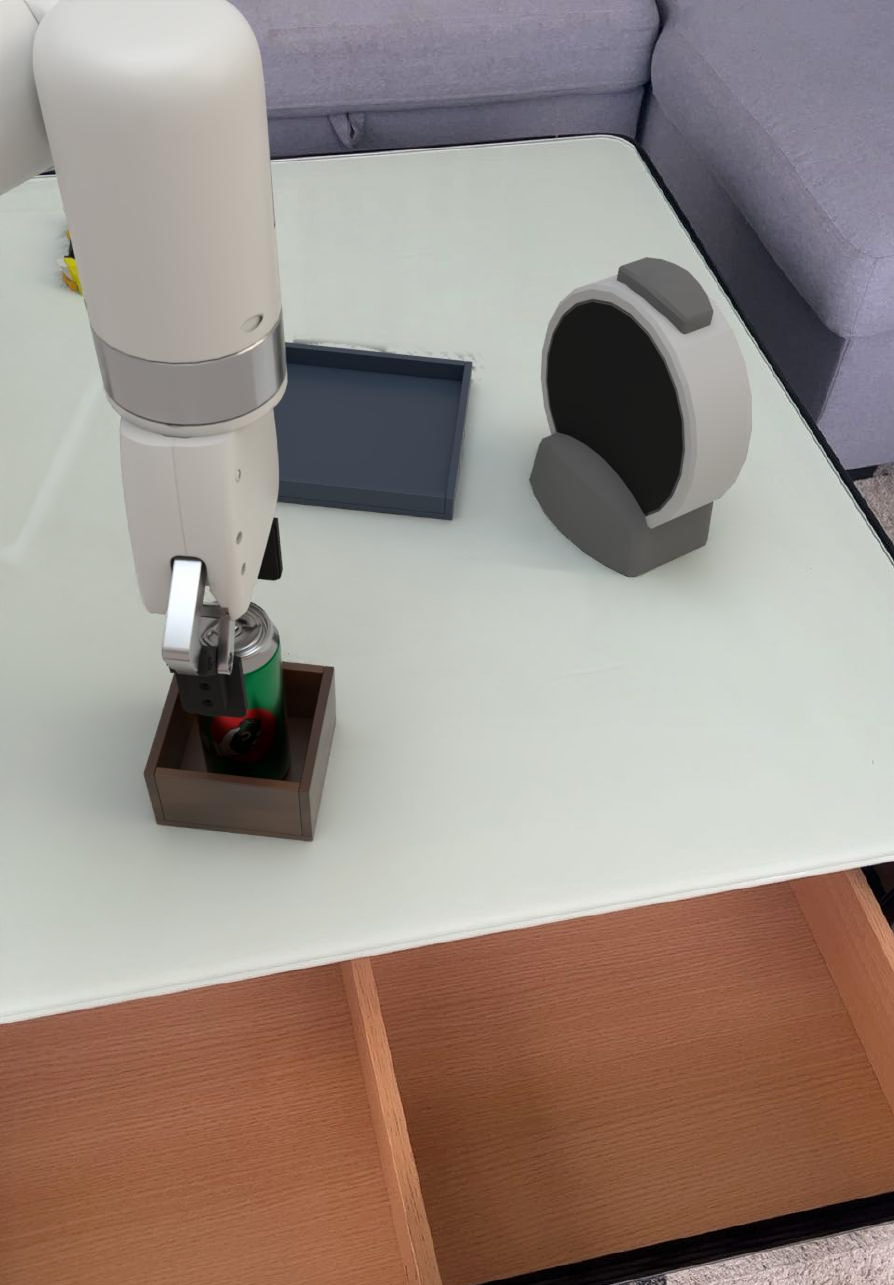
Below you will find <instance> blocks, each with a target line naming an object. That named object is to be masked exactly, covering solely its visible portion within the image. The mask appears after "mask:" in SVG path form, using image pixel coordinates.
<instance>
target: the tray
mask: <svg viewBox="0 0 894 1285" xmlns="http://www.w3.org/2000/svg"><path fill="white" fill-rule="evenodd" d="M285 350H286V365H287V386H286V390H285V393H284V395H283V397H282V399H281V400H280V401H279V403H278V404H277V405H276V406H275V407H274V408H273V410H274V418H275V427H276V436H277V447H278V461H279V490H278V498H277V502H281V503H290V504H291V503H292V504H299V505H300V504H301V505H308V506H310V505H311V506H319V507H326V508H327V507H328V508H336V509H337V508H338V509H346V510H355V511H356V510H357V511H367V512H373V513H374V512H376V513H383V514H384V513H385V514H393V515H402V516H412V517H420V518H431V519H440V520H448V521H449V520H450V521H452V520H453V518H454V510H455V502H456V495H457V488H458V481H459V474H460V465H461V458H462V451H463V443H464V437H465V436H464V435H465V430H466V422H467V414H468V407H469V400H470V394H471V393H470V392H471V386H472V377H473V376H472V374H473V361H471V360H459V359H451V358H443V357H431V356H423V355H422V356H421V355H413V354H402V353H394V352H384V351H377V350H376V351H375V350H364V349H357V348H356V349H355V348H346V347H336V346H328V345H318V344H317V345H316V344H309V343H308V344H307V343H299V342H289V341H285Z"/></svg>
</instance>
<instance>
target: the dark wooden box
mask: <svg viewBox="0 0 894 1285" xmlns="http://www.w3.org/2000/svg"><path fill="white" fill-rule="evenodd" d="M282 667H283V678H284V689H285V700H286V711H287V722H288V733H289V744H290V755H291V760H290V765H289V768H288V770H287V772H286V774H285V775H284V777H283V778H282V779H281V780H270V779H261V778H252V777H243V776H234V775H225V774H216V773H208V772H207V769H206V765H205V760H204V755H203V750H202V744H201V739H200V734H199V729H198V724H197V718H196V713H189V712H186V711H185V710H184V709H183V708H182V704H181V699H180V694H179V690H178V685H177V681H176V676H175V673H173V674H172V678H171V682H170V685H169V688H168V692H167V694H166V695H167V696H166V698H165V701H164V704H163V708H162V711H161V715H160V718H159V721H158V725H157V727H156V731H155V734H154V738H153V740H152V744H151V748H150V751H149V754H148V757H147V761H146V764H145V767H144V770H143V778H144V781H145V786H146V788H147V794H148V797H149V801H150V804H151V808H152V813H153V816H154V819H155V824H157V825H162V826H171V827H178V828H179V827H180V828H189V829H196V830H197V829H198V830H208V831H215V832H216V831H217V832H227V833H234V834H242V835H243V834H244V835H253V836H262V837H269V838H270V837H272V838H280V839H289V840H297V841H307V842H313V841H314V837H315V831H316V828H317V822H318V816H319V811H320V808H321V802H322V795H323V791H324V785H325V781H326V775H327V770H328V765H329V760H330V754H331V749H332V744H333V739H334V734H335V728H336V723H337V699H336V680H335V679H336V676H335V675H336V672H335V666H330V665H323V664H322V665H320V664H312V663H311V664H310V663H302V662H293V661H286V660H285V661H284V660H282Z"/></svg>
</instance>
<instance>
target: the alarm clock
mask: <svg viewBox="0 0 894 1285" xmlns="http://www.w3.org/2000/svg"><path fill="white" fill-rule="evenodd" d="M544 336H545V337H544V341H543V345H542V350H541V362H540V363H541V364H540V366H541V367H540V383H541V384H540V385H541V391H542V402H543V409H544V412H545V416H546V420H547V424H548V427H549V432H550V435H548V436H545V437H543V438H541V440H540V442H539V444H538V447H537V450H536V454H535V458H534V461H533V464H532V467H531V468H532V469H531V472H530V476H529V482H530V486H531V489H532V492H533V495H534V496H535V498H536V500H537V502H538V503H539V505H540V507H541V509H542V510H543V512H544V513H545V515H546V516H547V517H548V519H549V520H550V521H551V522H552V524H554V526H555V527H556V528H557V529H558V530H559V532H560V533H561V534H562V535H564V536H565V537H566V538H567V539H568V540H569V541H570V542H571V543H573V544H574V545H575V546H576V547H577V548H579V549H580V550H581V551H582V552H583V553H585V554H587V555H588V556H590V557H592V558H593V559H594V560H596V561H598V562H599V563H600V564H602V565H604V566H606V567H607V568H609V569H611V570H614V571H616V572H617V573H619V574H622V575H623V576H626V577H636V578H637V577H639V576H642V575H644V574H645V573H647V572H650V571H652V570H654V569H656V568H658V567H661V566H662V565H664V564H667V563H669V562H672V561H673V560H675V559H678V558H680V557H683V556H685V555H687V554H689V553H691V552H693V551H695V550H697V549H699V548H701V547H704V546H705V545H706V544H707V542H708V539H709V533H710V526H711V519H712V514H713V508H714V503H715V501H717V500H720V499H721V498H722V497H723V496H724V495H725V494H726V493H727V492H728V491H729V489H731V487H732V486H733V485H734V484H735V483H737V482H736V481H737V479H738V478H739V475H740V473H741V472H742V469H743V467H744V465H745V463H746V460H747V458H748V451H749V446H750V443H751V442H750V441H751V437H752V432H753V400H752V399H753V398H752V396H753V395H752V389H751V385H750V380H749V374H748V370H747V364H746V361H745V358H744V355H743V352H742V350H741V348H740V345H739V342H738V340H737V337H736V334H735V332H734V329H733V328H732V326H731V325H730V323H729V322H728V320H727V319H726V316H724V314H723V312H722V310H721V309H720V307H719V306H718V304H717V303H716V301H715V300H714V299H713V298H712V297H711V296H710V295H709V294H708V293H707V292H706V291H705V289H704V288H703V286H702V285H701V284H700V282H699V281H698V279H696V277H694V276H693V275H692V273H691V272H690V271H689V270H687V269H686V268H684V267H682V266H680V265H678V264H676V263H675V262H671V261H668V260H666V259H663V258H656V257H647V256H646V257H643V258H640V259H637V260H634V261H631V262H628V263H625V264H623V265H620V266H619V267H618V271H617V274H614V275H612V276H608V277H605V278H603V279H599V280H597V281H594V282H591V283H588V284H585V285H583V286H580V287H576V288H574V289H573V290H572V291H571V292H570V293H568V294H567V295H566V296H565V297H563V299H562V300H561V301H559V302H558V304H557V306H556V308H555V310H554V312H553V314H552V316H551V318H550V319H549V322H548V324H547V328H546V333H545V335H544Z"/></svg>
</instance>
